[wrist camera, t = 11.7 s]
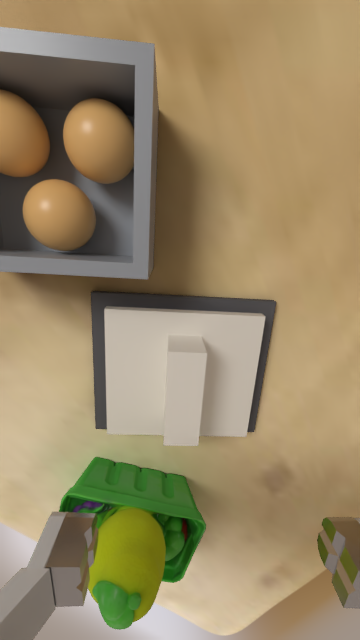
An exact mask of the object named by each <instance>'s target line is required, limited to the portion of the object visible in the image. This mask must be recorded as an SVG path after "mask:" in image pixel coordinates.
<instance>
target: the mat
mask: <svg viewBox="0 0 360 640" xmlns="http://www.w3.org/2000/svg"><path fill="white" fill-rule="evenodd" d="M106 306H114V307H135V308H156V309H177V310H198V311H219V312H240V313H261V314H263V315H264V316H266V317H265V323H264V330H263V336H262V342H261V348H260V355H259V361H258V367H257V373H256V380H255V386H254V392H253V398H252V405H251V411H250V417H249V423H248V430H247V432H254V430H255V424H256V418H257V412H258V406H259V400H260V395H261V389H262V383H263V377H264V371H265V365H266V359H267V353H268V348H269V342H270V336H271V330H272V324H273V318H274V312H275V306H276V301H274V300H261V299H241V298H222V297H203V296H183V295H164V294H144V293H125V292H106V291H92V292H91V309H92V337H93V366H94V394H95V422H96V429H107V411H106V366H105V320H104V309H105V308H106Z"/></svg>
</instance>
